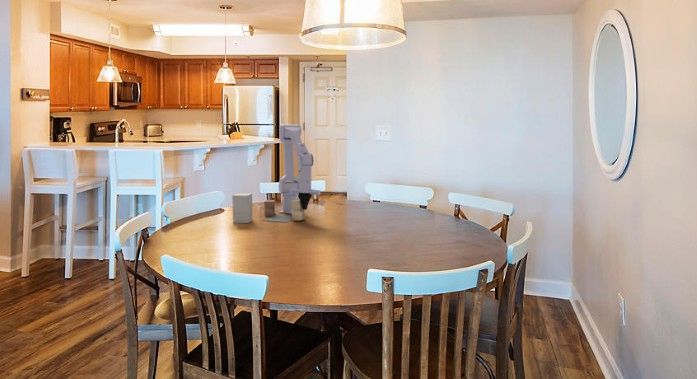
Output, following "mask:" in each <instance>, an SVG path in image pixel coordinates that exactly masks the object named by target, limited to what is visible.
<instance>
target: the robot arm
mask: <svg viewBox="0 0 697 379" xmlns="http://www.w3.org/2000/svg"><path fill="white" fill-rule="evenodd" d="M278 131H279V132H278V134H279V141H280V142H281V143H282V147H283V170H284V175H283V176H282V177H281V178H280V179H279V181H278V193H279V194H281V197H282V198H281V199H282V200H281V201H282V202H281V203H282V204H281V205H282V207H281V210H280V211H278V212H279V213H281V214H291V215H292V213H291V203H290V202H291V201H294V200H300V201H301V204H302V208H303V210H304V211H306V210H307V209H308V206H309V202H310V200H311V198H312V195H316V196H320V195H321V190H320V189H319V190H318V189H312V167H313V166H314V156H313V154H312V153H311V152H309V151H308V148H307V146H306V144H305V143H303V141H302V138H301V136H302V126H301V125H300V124H283V123H282V124H280V126H279V129H278ZM294 153H295V155H296V164H297V170H298V176H296V175H295V167H294V162H295V161H294Z"/></svg>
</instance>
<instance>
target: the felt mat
mask: <svg viewBox="0 0 697 379" xmlns="http://www.w3.org/2000/svg"><path fill="white" fill-rule="evenodd" d="M262 221H264V222H273V223H283V224H285V223H289V222H291V221H292V215H283V214H282V215H281V214H275V215H274V216H270V217H267V218H264V219H262Z"/></svg>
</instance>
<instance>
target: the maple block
mask: <svg viewBox="0 0 697 379" xmlns="http://www.w3.org/2000/svg"><path fill="white" fill-rule="evenodd" d="M290 203H291V213H292V214H291V213H290V214H291V216H292V220H291V221H292V222H300V221H303V220H305V219H306V214H305V210H303V208H302V204H301V201H300V199H299V200H294V201H291V202H290Z"/></svg>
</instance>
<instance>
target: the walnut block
mask: <svg viewBox="0 0 697 379" xmlns="http://www.w3.org/2000/svg"><path fill="white" fill-rule="evenodd" d="M275 202H276V200H275V199H265V200H264V217H269V216H270V217H272V216H275V215H276V203H275Z"/></svg>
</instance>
